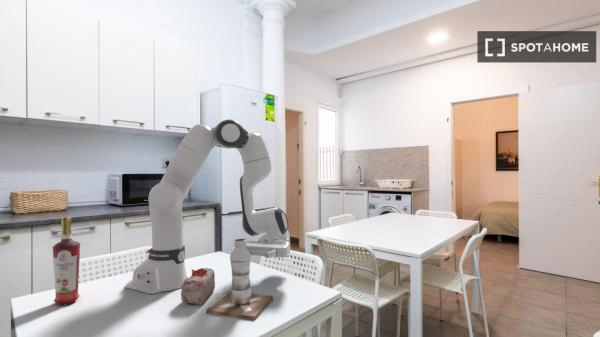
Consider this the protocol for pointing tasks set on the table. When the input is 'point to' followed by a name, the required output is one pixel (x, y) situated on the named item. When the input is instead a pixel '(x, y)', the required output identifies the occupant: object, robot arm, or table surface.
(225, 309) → the brown board with cross
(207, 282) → the food item
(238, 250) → the plastic bottle
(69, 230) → the liquor
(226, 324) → the table surface
